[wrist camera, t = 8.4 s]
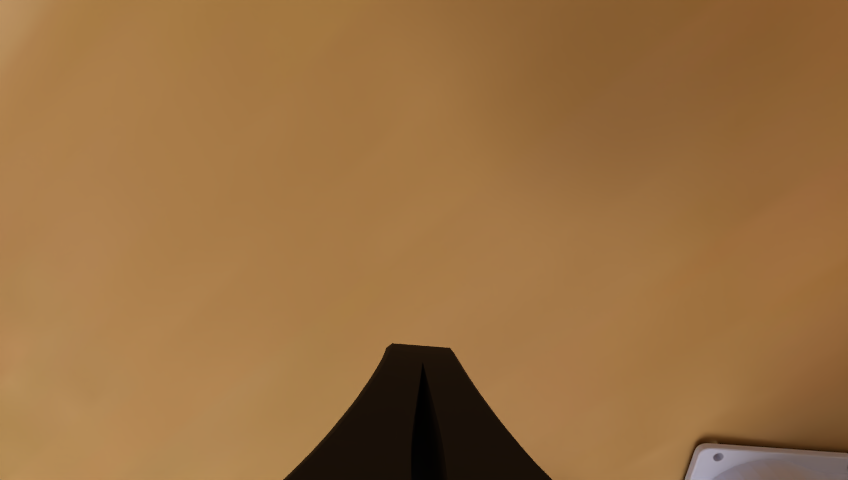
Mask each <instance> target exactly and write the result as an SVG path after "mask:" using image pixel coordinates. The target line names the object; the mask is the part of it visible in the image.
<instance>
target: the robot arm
mask: <svg viewBox="0 0 848 480" xmlns="http://www.w3.org/2000/svg"><path fill="white" fill-rule="evenodd" d="M283 480H552V479H551V478H550V477H549V476H548V475H547V474H546V473H545V472H544V471H543V470H542V469H541V468H540V467H539V466H538V465H537V464H536V463H535V462H534V461H533V459H532V458H531V457H530V456H529V455H528V454H527V453H526V452H525V450H524V449H523V448H522V447H521V446H520V445H519V443H518V442H517V441H516V440H515V439H514V437H513V436H512V435H511V434H510V433H509V431H508V430H507V429H506V428H505V426H504V425H503V424H502V423H501V421H500V420H499V419H498V417H497V416H496V415H495V413H494V412H493V411H492V409H491V408H490V407H489V405H488V404H487V403H486V401H485V400H484V398H483V397H482V396H481V394H480V393H479V391H478V390H477V389H476V387H475V386H474V384H473V383H472V381H471V380H470V378H469V377H468V375H467V373H466V372H465V370H464V369H463V367H462V365H461V364H460V362H459V361H458V359H457V357H456V356H455V354H454V352H453V351H452V350H451V349H450V348H444V347H431V346H419V345H406V344H393V343H392V344H391V345H390V346H388V347H387V348H386V351H385V353H384V355H383V358H382V360H381V362H380V363H379V365H378V367H377V369H376V370H375V372H374V373H373V375H372V377H371V378H370V380H369V381H368V383H367V384H366V385H365V387H364V388H363V390H362V391H361V393H360V394H359V396H358V397H357V398H356V400H355V401H354V402H353V404H352V405H351V406H350V408H349V409H348V410H347V411H346V412H345V414H344V415H343V416H342V417H341V419H340V420H339V421H338V422H337V423H336V425H335V426H334V427H333V428H332V430H331V431H330V432H329V433H328V434H327V435H326V437H325V438H324V439H323V440H322V441H321V442H320V443H319V444H318V445H317V446H316V447H315V449H314V450H313V451H312V452H311V453H310V454H309V455H308V456H307V457H306V458H305V459H304V460H303V461H302V462H301V463H300V464H299V465H298V466H297V467H296V468H295V469H294V470H293V471H292V472H291V473H290V474H289V475H288V476H287V477H286V478H285V479H283ZM685 480H848V453H838V452H824V451H810V450H796V449H782V448H768V447H754V446H740V445H726V444H712V443H703V444H700V445H699V446H697V447H696V449H695V451H694V454H693V457H692V460H691V463H690V466H689V469H688V472H687V474H686V477H685Z"/></svg>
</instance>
